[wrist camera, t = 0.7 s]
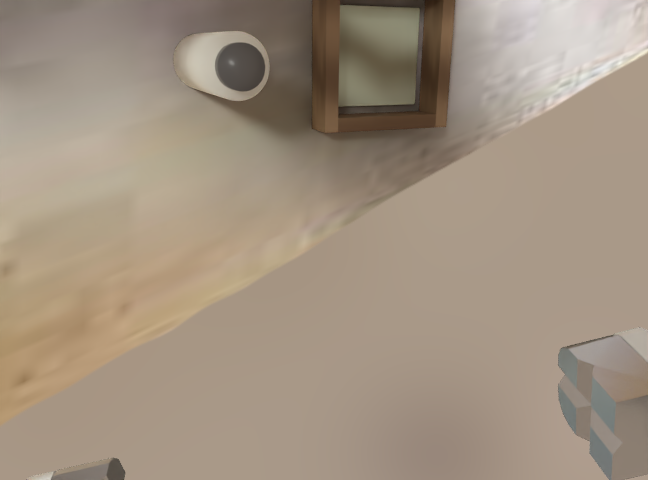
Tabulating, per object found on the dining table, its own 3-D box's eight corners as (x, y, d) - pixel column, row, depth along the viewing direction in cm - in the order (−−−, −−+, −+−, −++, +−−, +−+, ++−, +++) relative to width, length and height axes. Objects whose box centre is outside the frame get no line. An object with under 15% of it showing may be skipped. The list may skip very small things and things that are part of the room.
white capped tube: (171, 32, 47) (206, 29, 36) (226, 33, 49) (274, 31, 38) (175, 90, 48) (210, 103, 38) (228, 89, 50) (276, 101, 39)
